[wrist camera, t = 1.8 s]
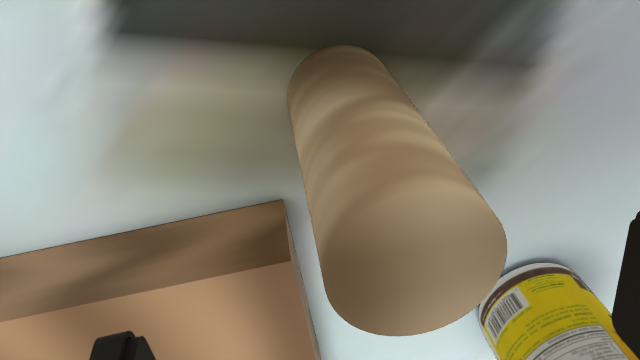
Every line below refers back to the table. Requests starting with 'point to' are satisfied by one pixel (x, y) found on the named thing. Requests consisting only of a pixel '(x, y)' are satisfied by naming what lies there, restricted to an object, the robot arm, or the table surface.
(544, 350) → the supplement bottle
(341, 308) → the peg
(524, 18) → the table surface
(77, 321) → the socket block
